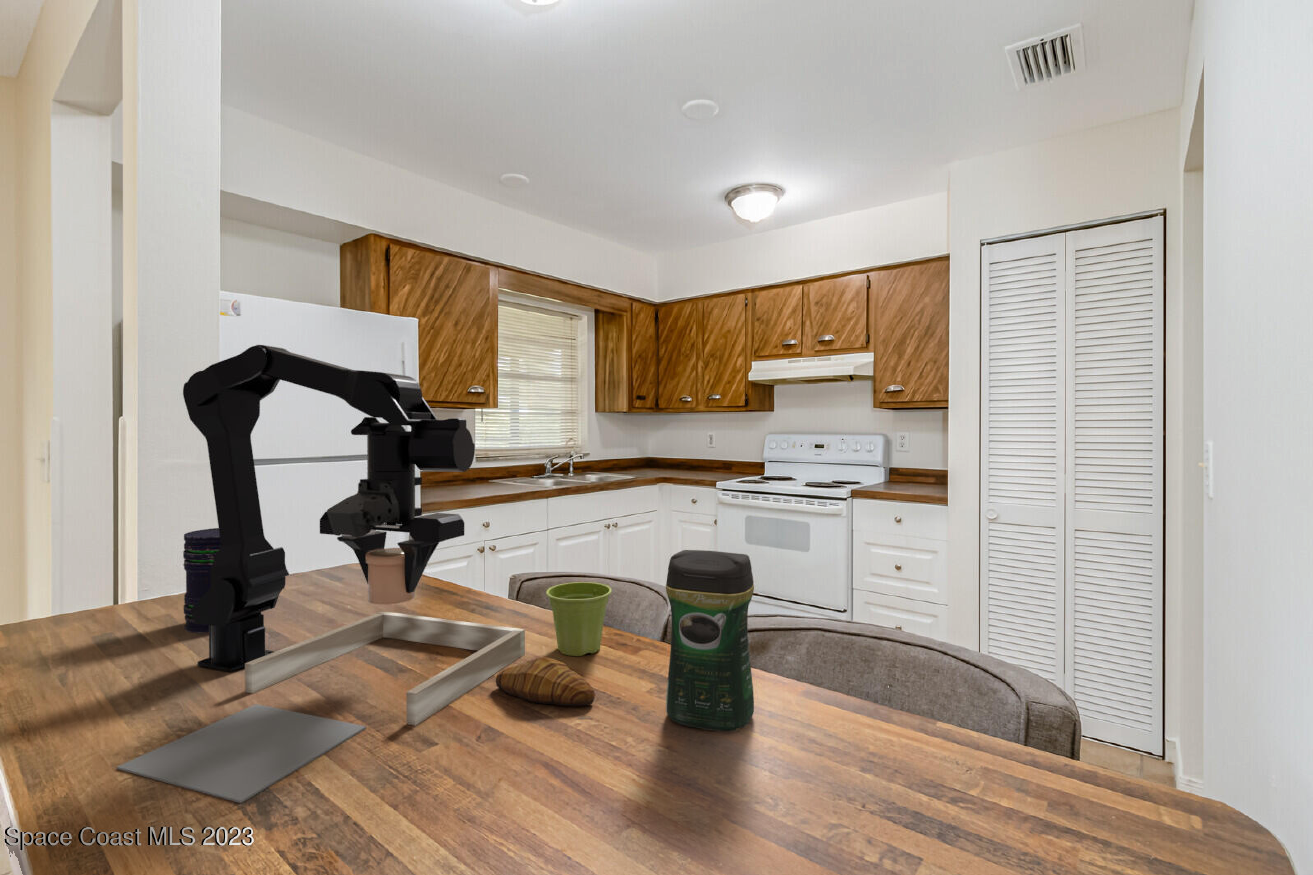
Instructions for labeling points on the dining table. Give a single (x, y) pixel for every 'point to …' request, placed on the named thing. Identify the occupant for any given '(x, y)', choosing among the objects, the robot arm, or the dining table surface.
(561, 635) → the plant pot
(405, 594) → the pot
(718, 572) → the coffee jar
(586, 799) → the dining table surface
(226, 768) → the grey mat
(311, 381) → the robot arm
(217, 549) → the storage jar
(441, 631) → the metal u frame
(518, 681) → the croissant
